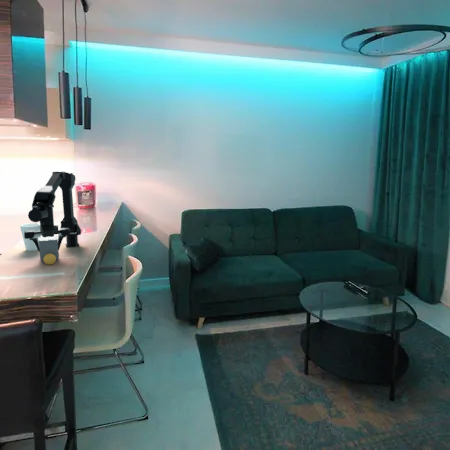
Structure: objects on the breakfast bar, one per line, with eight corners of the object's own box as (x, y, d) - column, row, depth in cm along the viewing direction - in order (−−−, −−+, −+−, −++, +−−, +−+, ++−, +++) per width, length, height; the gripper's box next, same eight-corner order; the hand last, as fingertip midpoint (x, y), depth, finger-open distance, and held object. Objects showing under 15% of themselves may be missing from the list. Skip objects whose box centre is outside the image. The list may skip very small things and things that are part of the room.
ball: (43, 254, 151) (44, 265, 151) (55, 253, 153) (56, 264, 153) (43, 253, 155) (44, 264, 156) (55, 252, 158) (56, 263, 158)
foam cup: (47, 247, 182) (45, 223, 179) (33, 252, 173) (31, 227, 170) (32, 246, 184) (30, 222, 182) (18, 250, 175) (15, 225, 173)
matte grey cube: (40, 255, 163) (38, 237, 161) (58, 253, 166) (56, 236, 164) (40, 259, 156) (38, 241, 154) (59, 257, 160) (57, 239, 158)
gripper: (22, 222, 146) (25, 257, 149) (70, 219, 155) (72, 253, 158) (23, 218, 156) (26, 251, 159) (68, 215, 164) (70, 247, 167)
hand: (49, 250), depth 160 cm, fingers closed on matte grey cube, 8 cm apart
